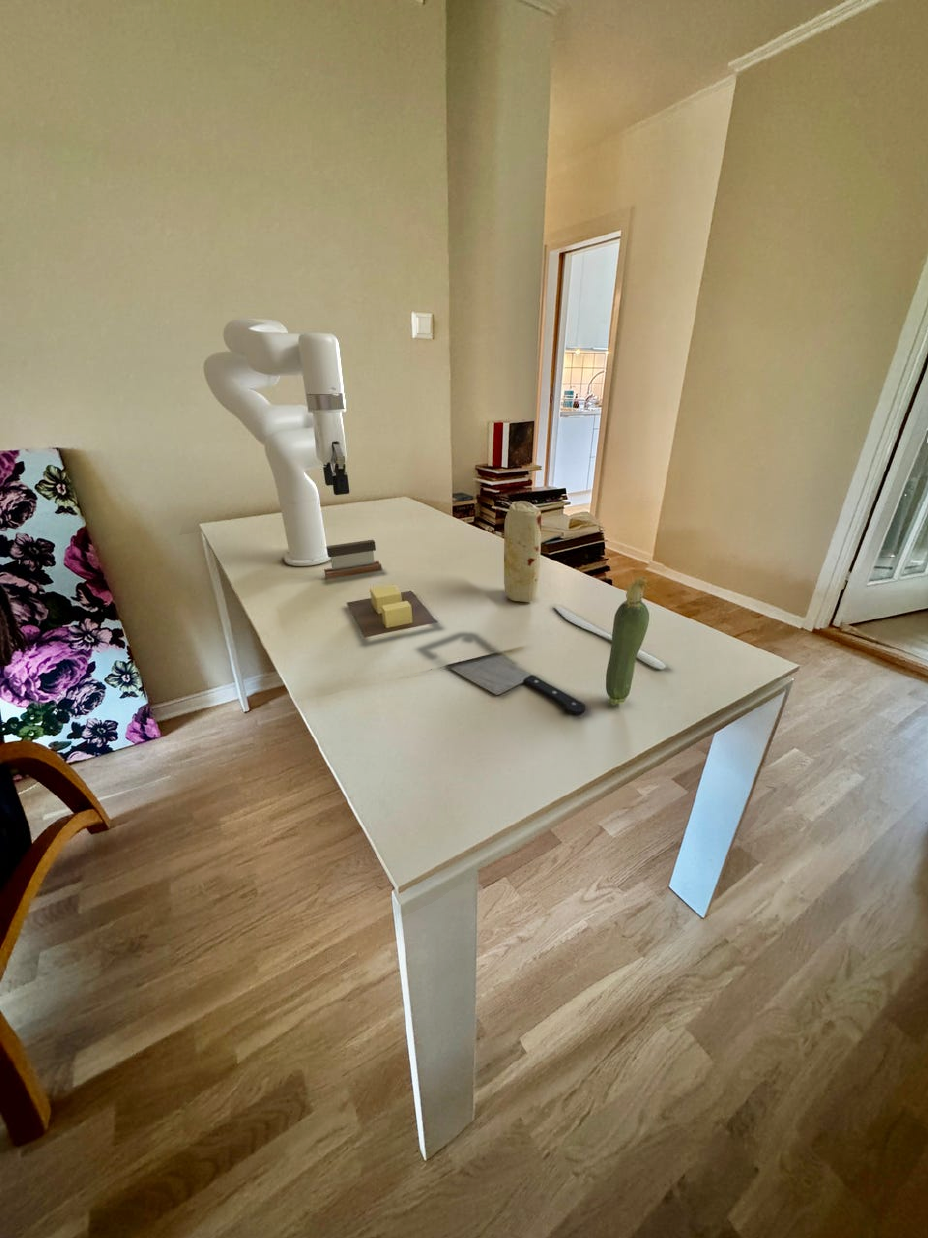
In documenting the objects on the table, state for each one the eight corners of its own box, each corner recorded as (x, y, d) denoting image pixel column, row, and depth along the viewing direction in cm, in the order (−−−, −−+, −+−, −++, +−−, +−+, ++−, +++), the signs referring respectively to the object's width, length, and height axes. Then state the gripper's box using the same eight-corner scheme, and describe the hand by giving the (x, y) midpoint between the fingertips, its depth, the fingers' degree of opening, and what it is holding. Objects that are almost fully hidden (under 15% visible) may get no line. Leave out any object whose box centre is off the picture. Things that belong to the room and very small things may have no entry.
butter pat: (382, 622, 90) (381, 605, 88) (408, 617, 92) (407, 600, 90) (386, 628, 88) (384, 611, 86) (412, 622, 90) (411, 605, 88)
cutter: (331, 579, 113) (326, 546, 110) (376, 571, 117) (373, 539, 113) (332, 582, 112) (327, 548, 108) (378, 574, 116) (375, 541, 112)
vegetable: (598, 693, 72) (615, 568, 63) (626, 691, 72) (648, 566, 63) (609, 711, 68) (629, 581, 59) (638, 709, 68) (663, 579, 59)
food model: (545, 602, 100) (552, 506, 91) (518, 608, 98) (521, 511, 88) (521, 585, 108) (525, 496, 99) (495, 591, 106) (496, 500, 96)
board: (347, 608, 99) (346, 602, 98) (412, 596, 104) (411, 590, 103) (365, 644, 86) (364, 637, 85) (438, 628, 91) (438, 621, 90)
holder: (325, 578, 114) (324, 569, 112) (379, 570, 118) (378, 560, 117) (327, 583, 111) (326, 573, 110) (382, 574, 116) (381, 564, 114)
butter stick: (371, 604, 97) (369, 588, 96) (395, 599, 99) (394, 583, 97) (377, 614, 93) (375, 597, 92) (402, 609, 95) (401, 593, 93)
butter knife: (655, 670, 76) (668, 664, 77) (548, 608, 97) (560, 603, 98) (655, 673, 76) (668, 667, 77) (548, 610, 97) (560, 606, 98)
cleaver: (542, 738, 63) (592, 707, 68) (543, 734, 63) (592, 704, 68) (421, 649, 84) (466, 632, 89) (421, 647, 84) (466, 629, 89)
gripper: (301, 401, 102) (313, 483, 110) (314, 407, 88) (327, 500, 97) (336, 400, 105) (345, 480, 113) (354, 406, 91) (363, 496, 99)
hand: (337, 489), depth 105 cm, fingers open, 9 cm apart
